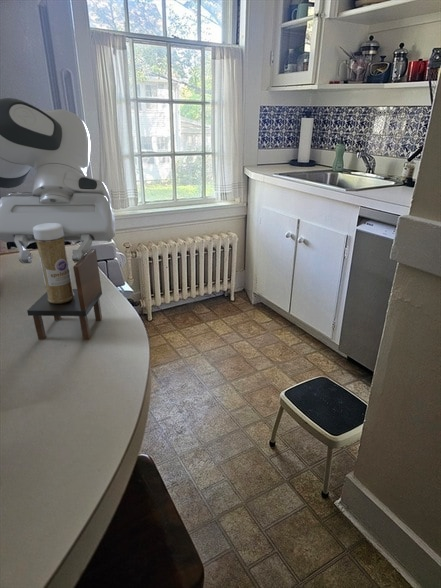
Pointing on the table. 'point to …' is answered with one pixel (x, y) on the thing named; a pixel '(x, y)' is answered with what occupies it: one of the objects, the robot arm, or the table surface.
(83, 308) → the chair
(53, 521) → the table surface
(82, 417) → the table surface
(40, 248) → the sprinkles bottle
